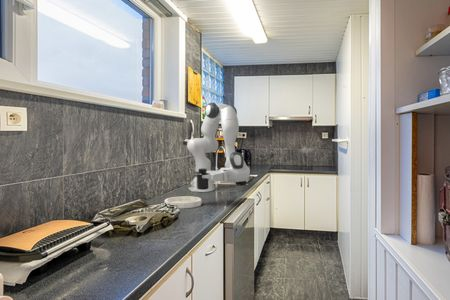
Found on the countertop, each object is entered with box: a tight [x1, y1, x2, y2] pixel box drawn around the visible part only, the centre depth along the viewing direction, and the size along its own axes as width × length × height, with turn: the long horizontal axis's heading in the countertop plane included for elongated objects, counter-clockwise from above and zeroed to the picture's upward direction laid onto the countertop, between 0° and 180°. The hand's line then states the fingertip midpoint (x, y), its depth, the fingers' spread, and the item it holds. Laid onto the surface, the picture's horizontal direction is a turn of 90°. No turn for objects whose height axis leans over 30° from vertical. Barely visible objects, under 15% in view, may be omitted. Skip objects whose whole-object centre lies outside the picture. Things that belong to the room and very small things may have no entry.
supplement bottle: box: [197, 168, 208, 190], centre depth 195 cm, size 7×7×12 cm
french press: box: [235, 180, 247, 186], centre depth 274 cm, size 12×9×23 cm
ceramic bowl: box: [164, 195, 203, 210], centre depth 193 cm, size 21×21×3 cm
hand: (201, 175), depth 194 cm, fingers closed on supplement bottle, 7 cm apart
